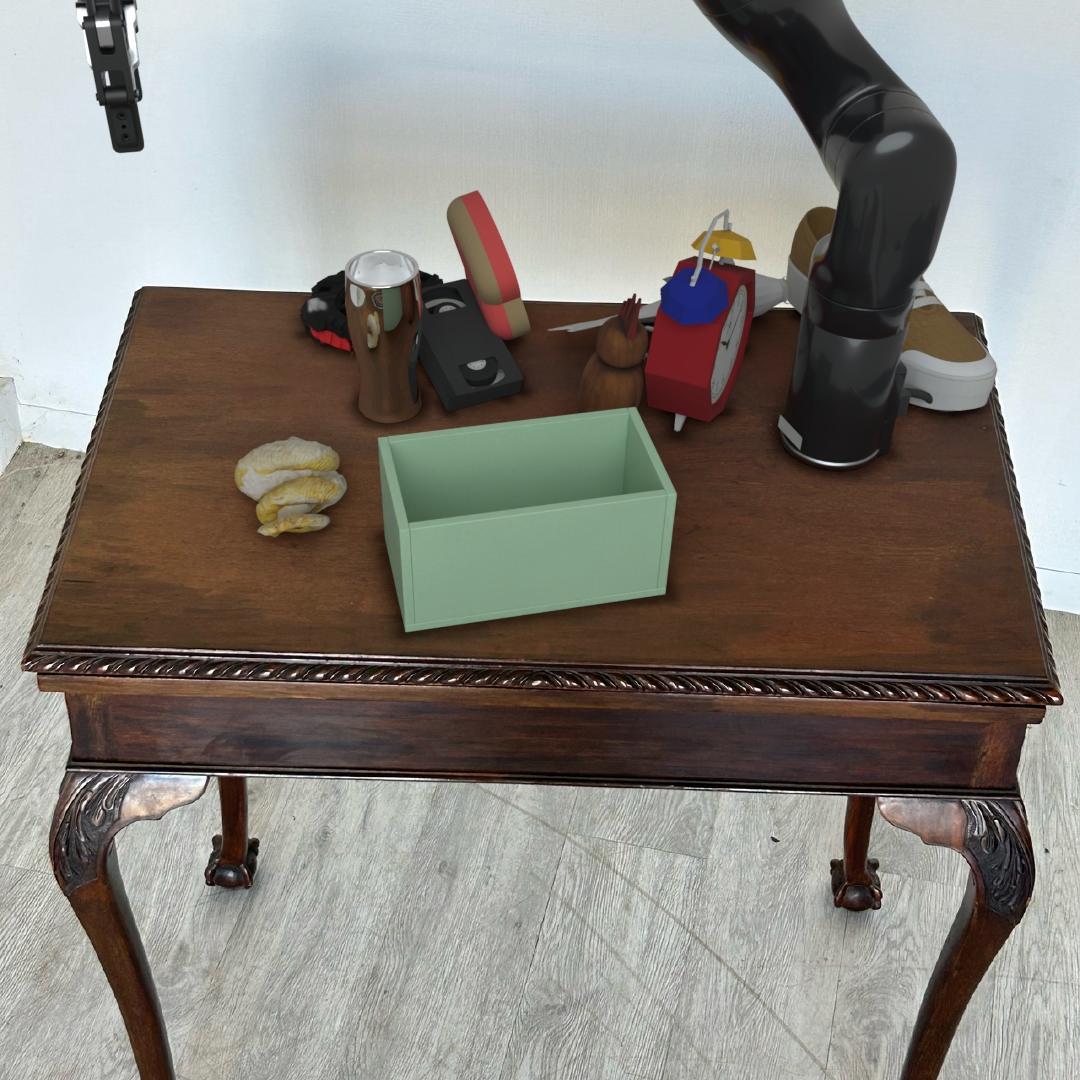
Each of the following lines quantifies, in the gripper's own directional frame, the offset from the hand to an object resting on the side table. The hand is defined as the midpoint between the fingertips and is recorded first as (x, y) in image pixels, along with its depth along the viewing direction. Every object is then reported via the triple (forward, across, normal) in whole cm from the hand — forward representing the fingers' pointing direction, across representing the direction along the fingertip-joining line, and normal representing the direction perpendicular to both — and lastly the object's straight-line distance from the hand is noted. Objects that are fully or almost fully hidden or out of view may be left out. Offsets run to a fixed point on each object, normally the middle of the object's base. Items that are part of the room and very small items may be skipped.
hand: (129, 124), depth 102 cm
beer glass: (+33, +6, -19) cm, 39 cm away
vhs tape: (+31, +12, -26) cm, 43 cm away
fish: (+28, +10, -50) cm, 58 cm away
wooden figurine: (+33, -1, -38) cm, 50 cm away
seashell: (+33, -6, -8) cm, 35 cm away
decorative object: (+26, +10, -31) cm, 42 cm away
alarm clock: (+33, +2, -47) cm, 57 cm away
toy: (+33, +22, -20) cm, 45 cm away
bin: (+33, -18, -26) cm, 46 cm away
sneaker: (+33, +7, -69) cm, 77 cm away
